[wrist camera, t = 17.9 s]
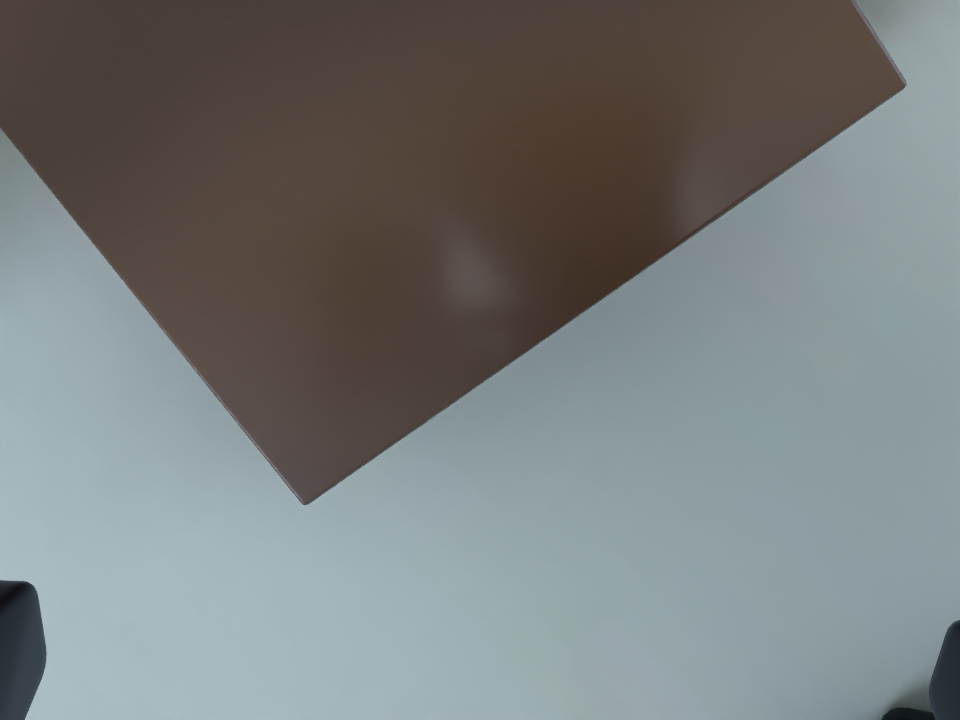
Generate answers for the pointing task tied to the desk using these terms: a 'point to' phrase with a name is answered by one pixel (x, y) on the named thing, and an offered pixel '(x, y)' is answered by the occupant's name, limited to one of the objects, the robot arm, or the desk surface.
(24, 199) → the desk surface
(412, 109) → the drawer unit
